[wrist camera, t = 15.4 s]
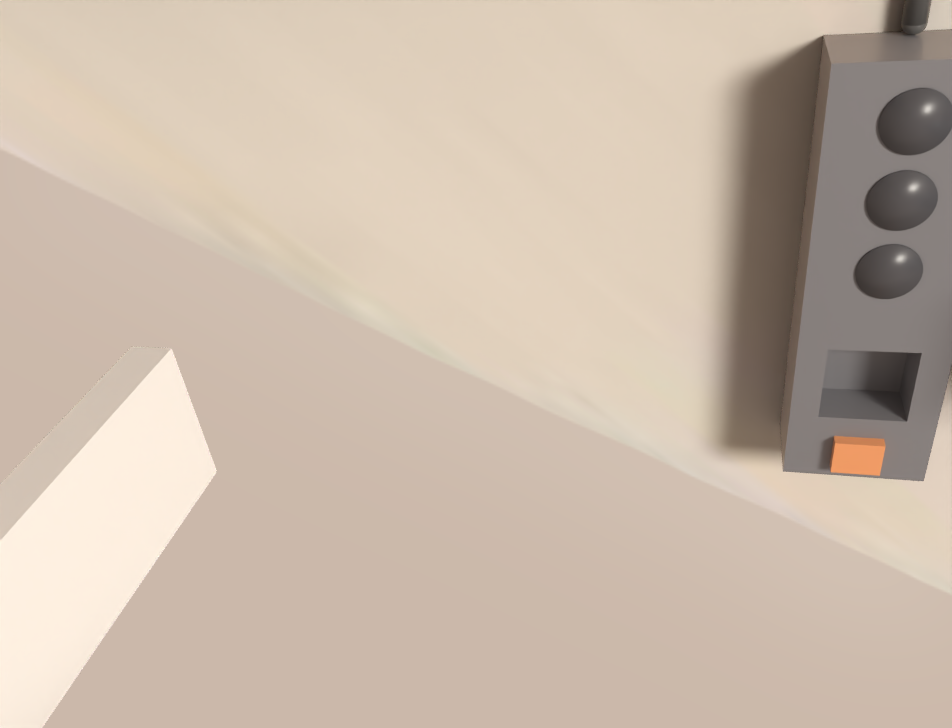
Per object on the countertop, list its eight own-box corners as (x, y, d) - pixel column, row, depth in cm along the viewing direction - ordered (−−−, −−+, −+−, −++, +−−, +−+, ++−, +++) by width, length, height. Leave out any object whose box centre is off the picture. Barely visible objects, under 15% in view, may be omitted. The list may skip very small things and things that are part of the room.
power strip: (843, -148, 35) (856, -132, 31) (1044, -167, 33) (1083, -152, 29) (779, 424, 51) (783, 478, 48) (911, 432, 49) (925, 489, 46)
